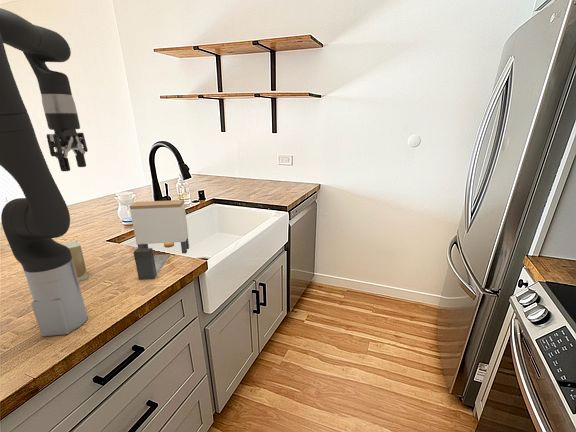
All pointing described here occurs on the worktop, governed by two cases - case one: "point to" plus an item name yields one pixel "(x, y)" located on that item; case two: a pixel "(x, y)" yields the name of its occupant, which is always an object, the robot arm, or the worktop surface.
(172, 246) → the token
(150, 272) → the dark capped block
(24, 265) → the robot arm
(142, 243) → the cabinet
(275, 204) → the worktop surface
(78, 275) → the skincare box
